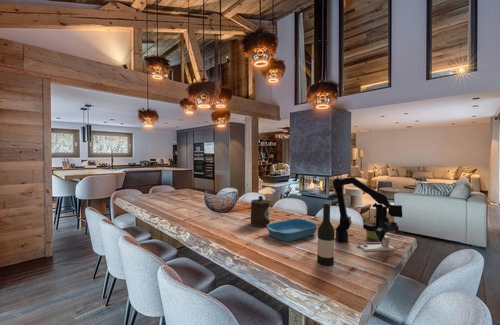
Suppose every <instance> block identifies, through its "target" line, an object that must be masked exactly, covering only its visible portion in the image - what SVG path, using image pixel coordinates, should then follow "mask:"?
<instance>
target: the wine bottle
mask: <svg viewBox="0 0 500 325" xmlns="http://www.w3.org/2000/svg"><path fill="white" fill-rule="evenodd" d="M322 205H323V206H322V207H323V209H322V222H321V223H320V225H319V227H317V249H316V250H317V251H316V252H317V256H316V262H317V264H318V265H319V266H323V267H328V268H329V267H333V266H334V265H335V262H334V261H335V239H334V238H335V232H336V229H335V228H334V226H333V224H332V222H331V204H330V202H324V203H323V204H322Z"/></svg>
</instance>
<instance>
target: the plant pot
mask: <svg viewBox="0 0 500 325" xmlns="http://www.w3.org/2000/svg"><path fill="white" fill-rule="evenodd" d="M374 223H375V222H364V224H372V225H374ZM365 232H366V238H367V239H372V240H377V239H378V237H377V235H376V233H375V231H368V230H366V229H365Z"/></svg>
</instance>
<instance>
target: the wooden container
mask: <svg viewBox="0 0 500 325" xmlns="http://www.w3.org/2000/svg"><path fill="white" fill-rule="evenodd" d="M263 198H264V196H262V195H260V196H258V198H257V199H251V202H250V203H251V204H250V205H251V206H250V226H253V227H255V228H267V225H268V224H270V223H271V200H269V199H263Z"/></svg>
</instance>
